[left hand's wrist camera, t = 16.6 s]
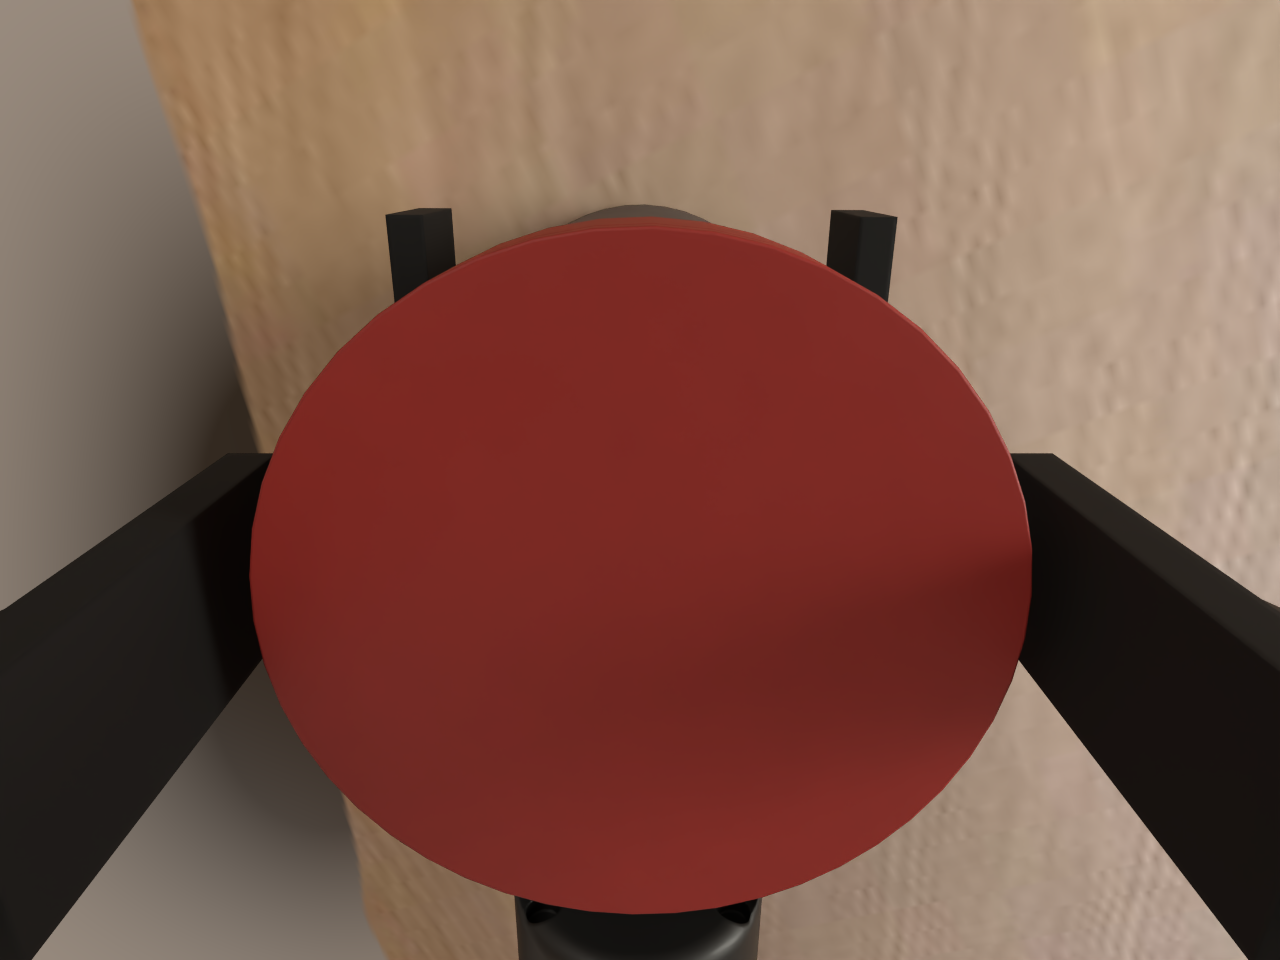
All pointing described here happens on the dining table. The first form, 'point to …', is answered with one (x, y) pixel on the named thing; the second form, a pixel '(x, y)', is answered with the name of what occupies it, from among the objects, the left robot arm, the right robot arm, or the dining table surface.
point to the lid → (641, 568)
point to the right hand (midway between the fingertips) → (641, 212)
